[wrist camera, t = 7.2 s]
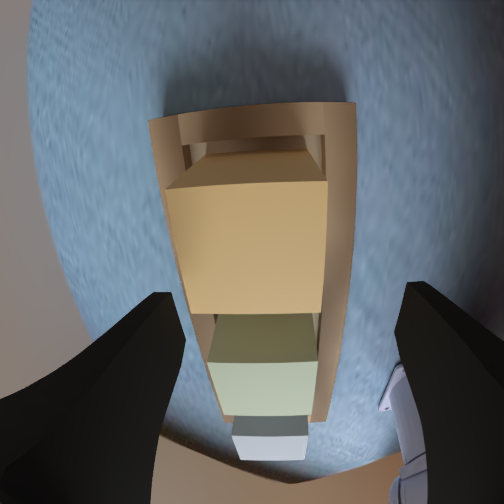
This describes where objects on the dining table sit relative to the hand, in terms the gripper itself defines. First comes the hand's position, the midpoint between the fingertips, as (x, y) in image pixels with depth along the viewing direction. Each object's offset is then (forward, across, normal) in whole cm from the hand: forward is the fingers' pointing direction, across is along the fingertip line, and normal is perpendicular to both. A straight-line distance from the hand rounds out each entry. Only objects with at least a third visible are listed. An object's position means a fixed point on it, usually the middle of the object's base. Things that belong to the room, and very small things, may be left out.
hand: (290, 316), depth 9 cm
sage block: (+8, +1, +7) cm, 10 cm away
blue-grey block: (+8, +1, +15) cm, 17 cm away
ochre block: (+8, +1, -1) cm, 8 cm away
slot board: (+9, +1, +7) cm, 12 cm away
